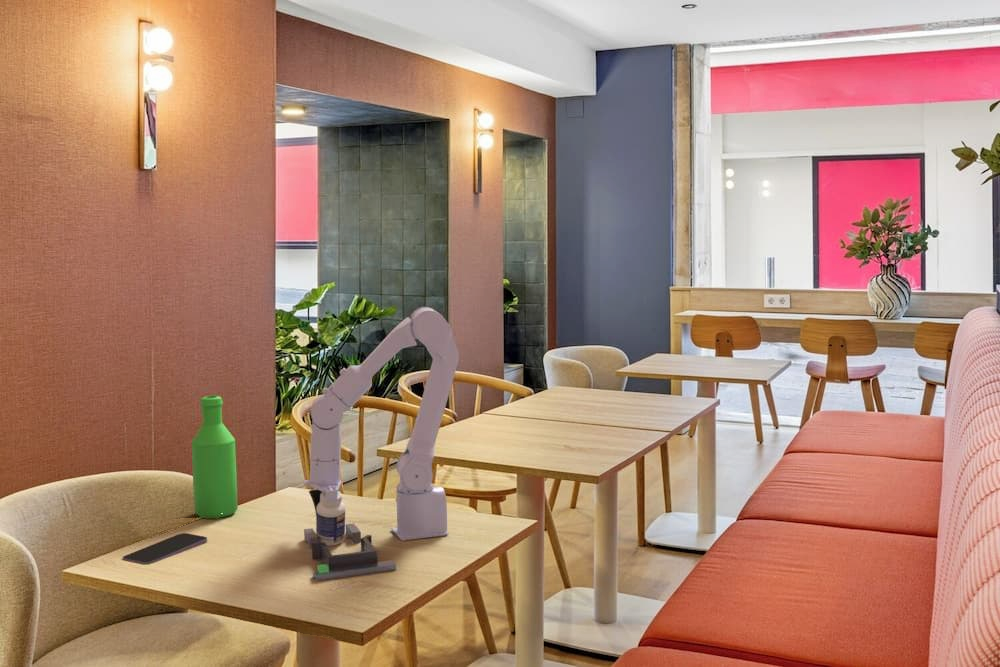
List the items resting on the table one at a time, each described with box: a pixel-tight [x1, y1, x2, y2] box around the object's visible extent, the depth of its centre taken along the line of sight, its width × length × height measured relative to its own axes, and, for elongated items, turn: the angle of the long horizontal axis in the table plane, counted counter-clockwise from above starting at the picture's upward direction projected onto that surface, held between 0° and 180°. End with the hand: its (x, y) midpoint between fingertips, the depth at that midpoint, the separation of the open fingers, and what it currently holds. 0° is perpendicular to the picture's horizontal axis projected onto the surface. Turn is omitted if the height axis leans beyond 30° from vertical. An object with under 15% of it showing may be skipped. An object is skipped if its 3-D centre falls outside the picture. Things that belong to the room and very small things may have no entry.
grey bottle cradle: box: [311, 534, 397, 582], centre depth 174 cm, size 14×12×3 cm
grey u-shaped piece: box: [303, 523, 362, 549], centre depth 187 cm, size 10×6×2 cm, turn 111°
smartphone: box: [122, 532, 208, 565], centre depth 183 cm, size 7×1×15 cm
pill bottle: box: [315, 490, 346, 547], centre depth 185 cm, size 5×5×10 cm
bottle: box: [191, 395, 239, 519], centre depth 205 cm, size 9×9×25 cm
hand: (324, 527), depth 188 cm, fingers closed, pressing on pill bottle
